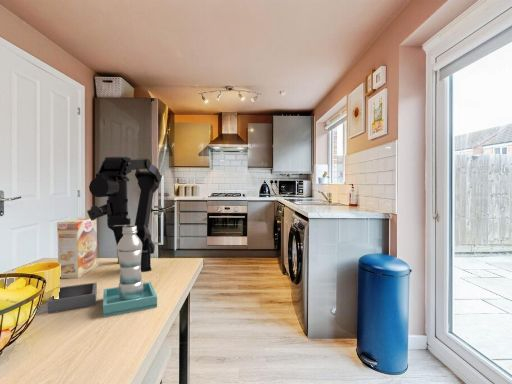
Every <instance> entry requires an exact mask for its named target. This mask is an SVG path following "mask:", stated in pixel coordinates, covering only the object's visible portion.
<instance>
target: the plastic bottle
mask: <svg viewBox="0 0 512 384" xmlns="http://www.w3.org/2000/svg"><path fill="white" fill-rule="evenodd" d="M122 229H123V232H122V234H123V237H122V238H121V239H120V241H119V243H118V246H117V245H116V251H117V250H118V256H119V263H118V264H119V283H118V286H117V287H118V294H119V297H120V298H121V299H122V300H132V299H137V298H139V297H140V296H141V295H142V293H143V288H144V287H143V283H144V282H143V278H142V277H143V276H142V271H141V265H140V264H141V253H142V242H141V240H140V239H139V237H138V236H137V235H136V233H137V226H135V224H133V225H131V224H130V226H123V228H122Z"/></svg>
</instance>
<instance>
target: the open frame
mask: <svg viewBox="0 0 512 384" xmlns="http://www.w3.org/2000/svg"><path fill="white" fill-rule="evenodd" d="M97 294H98V282H97V281H96V282H89V283H83V284H75V285H74V284H73V285H68V286H67V285H66V286H61V287H60V292H59V299H54V296H52V297H50V296H49V297H50V298H48V300H47V301H46V302H47V304H46V305H47V314H52V313H58V312H63V311H70V310H76V309H77V310H78V309H82V308H87V307H88V308H89V307H93V306H96V304H97V296H98V295H97Z"/></svg>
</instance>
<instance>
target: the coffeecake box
mask: <svg viewBox="0 0 512 384" xmlns="http://www.w3.org/2000/svg"><path fill="white" fill-rule="evenodd" d="M97 223H98V222H97V218H96V219H95V220H92V221H91V219H90V217H89V216H88V217H87V216H86V217H85V216H84V217H76V218H71V219H67V220H63V221H59V222H58V221H57V223H56V225H57V226H56V227H57V262H58V263H60V264H61V278H60V279H79V278H80V277H82V276H84V275H85V274H87V273H88V272H90V271H91V270H93V269H95V268H97V267H98V236H97V235H98V234H97V233H98V229H97V228H98V227H97V225H98V224H97ZM58 263H57V264H58Z"/></svg>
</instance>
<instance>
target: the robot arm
mask: <svg viewBox="0 0 512 384" xmlns="http://www.w3.org/2000/svg"><path fill="white" fill-rule="evenodd" d="M151 162H152V161H151V160H150V159H149V158H146V157H145V158H144V157H143V158H141V157H140V158H139V157H138V158H131V157H128V156H122V155H121V156H116V155H115V156H106V157H105V158H104V160H103V161H102V163H101V165H100V168H99V170H98V172H97V173H95V178H92V180H91V181H90V184H89V185H88V188H89V189H88V190H89V192H90V193H91V195H92V196H93V197H95V198H105V197H107V199H106V203H105V204H101V205H97V204H95V205H91V206H90V209H87V212H86V213H87V215H88V217H90V219H91V221H92V220H95V219H96V218H101V217H103V216H106V218H107V219H106V220H107V221H106V222H107V225H106V226H107V228H108V229H110V230H111V231H112V232H113V234H114V239H115V244H116V247H117V246H118V243H119V241H120V239H121V238H122V237H123V234H122V232H123V229H122V228H123V226H130V225H131V217H130V216H129V210H128V209H129V208H128V207H129V206H128V202H129V199H128V182H130V178H129V177H128V174H130V173H132V171H134V170H135V174H134V177H135V178H136V180H137V185H138V187H139V190H140V193H139V198H138V204H137V209H136V214H135V215H136V216H135V221H134V225H135V226H137V233H136V235H137V236H138V237H139V239H140V240H141V242H142V253H141V264H140V265H141V272H145V271H146V272H147V271H148V272H149V271H152V266H151V255H152V254H155V251H156V249H155V248H156V246H155V244H154V242H153V240H152V235H151V232H150V230H149V224H150V219H151V218H150V217H151V211H152V206H153V205H152V204H153V199H154V198H153V197H154V193H155V192H156V191H157V190H158V189H159V187H160V183H161V182H162V175H161V172H160V171H159V168H158V167H156V166H155V165H154V164H152V163H151ZM140 170H141V171H140Z"/></svg>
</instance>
